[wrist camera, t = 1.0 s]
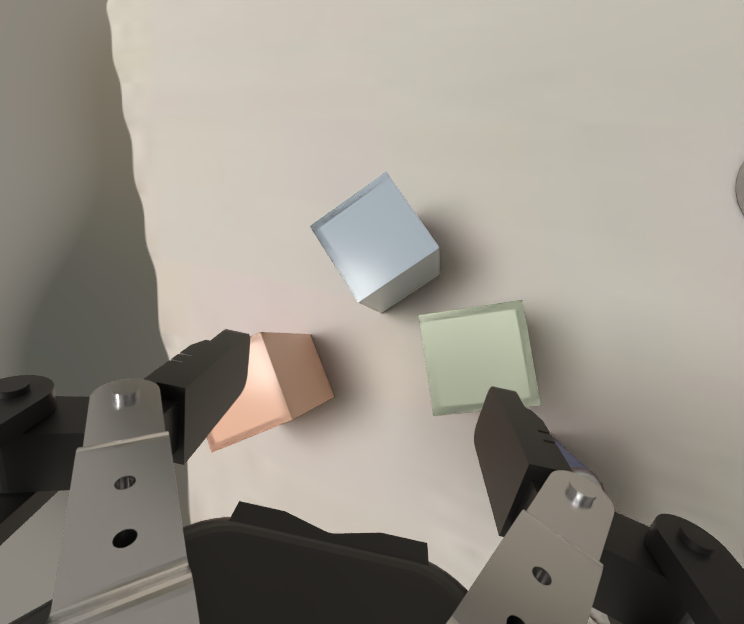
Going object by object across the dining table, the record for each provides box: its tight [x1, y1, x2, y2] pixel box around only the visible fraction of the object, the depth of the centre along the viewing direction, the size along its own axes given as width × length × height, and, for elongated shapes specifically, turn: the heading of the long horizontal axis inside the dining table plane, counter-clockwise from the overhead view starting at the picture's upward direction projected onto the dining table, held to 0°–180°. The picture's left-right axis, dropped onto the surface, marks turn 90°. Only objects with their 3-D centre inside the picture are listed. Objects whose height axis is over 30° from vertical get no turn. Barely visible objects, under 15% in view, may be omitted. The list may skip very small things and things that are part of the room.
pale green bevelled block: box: [419, 300, 541, 416], centre depth 27 cm, size 6×6×10 cm
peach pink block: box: [207, 332, 334, 452], centre depth 30 cm, size 6×6×10 cm
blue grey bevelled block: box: [310, 172, 440, 313], centre depth 29 cm, size 6×6×10 cm
